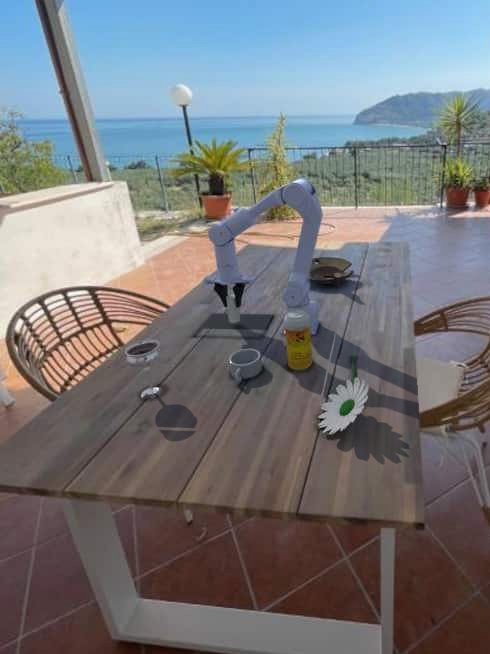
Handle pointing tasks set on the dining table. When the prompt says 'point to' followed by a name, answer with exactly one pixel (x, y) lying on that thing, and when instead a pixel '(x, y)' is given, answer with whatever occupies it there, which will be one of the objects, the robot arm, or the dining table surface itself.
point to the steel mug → (245, 364)
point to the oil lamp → (329, 270)
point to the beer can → (298, 338)
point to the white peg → (232, 309)
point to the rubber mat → (245, 322)
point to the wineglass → (144, 359)
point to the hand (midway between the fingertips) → (232, 306)
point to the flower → (344, 404)
